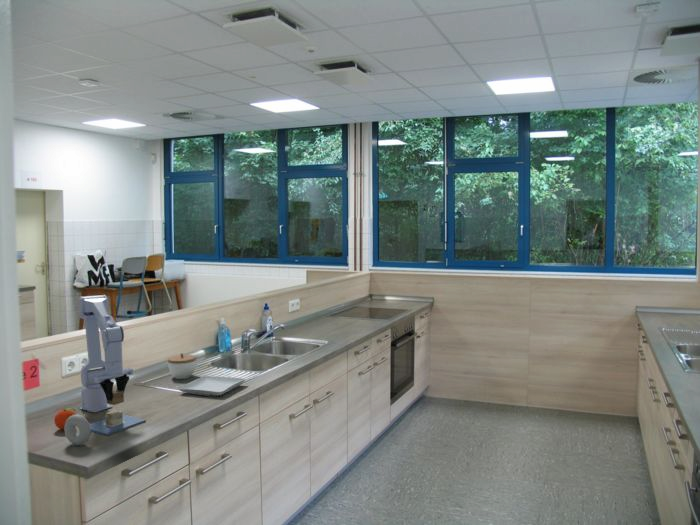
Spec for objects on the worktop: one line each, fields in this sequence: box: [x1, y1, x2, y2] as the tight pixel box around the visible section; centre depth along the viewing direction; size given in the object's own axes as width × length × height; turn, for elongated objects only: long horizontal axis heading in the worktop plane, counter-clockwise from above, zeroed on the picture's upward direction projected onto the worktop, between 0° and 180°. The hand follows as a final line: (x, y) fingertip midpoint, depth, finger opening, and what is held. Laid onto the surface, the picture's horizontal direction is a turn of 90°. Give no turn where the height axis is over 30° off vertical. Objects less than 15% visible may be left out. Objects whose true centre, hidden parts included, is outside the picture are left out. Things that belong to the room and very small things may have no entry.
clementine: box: [54, 407, 77, 430], centre depth 202 cm, size 8×7×7 cm
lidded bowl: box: [167, 353, 197, 380], centre depth 270 cm, size 13×13×11 cm
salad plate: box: [177, 375, 246, 397], centre depth 248 cm, size 21×21×3 cm
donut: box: [64, 413, 92, 446], centre depth 186 cm, size 10×4×10 cm, turn 67°
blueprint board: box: [89, 413, 147, 437], centre depth 205 cm, size 14×16×1 cm
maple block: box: [104, 409, 124, 426], centre depth 205 cm, size 4×4×4 cm
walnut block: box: [107, 388, 125, 406], centre depth 205 cm, size 4×4×4 cm
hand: (115, 398), depth 205 cm, fingers closed on walnut block, 4 cm apart
